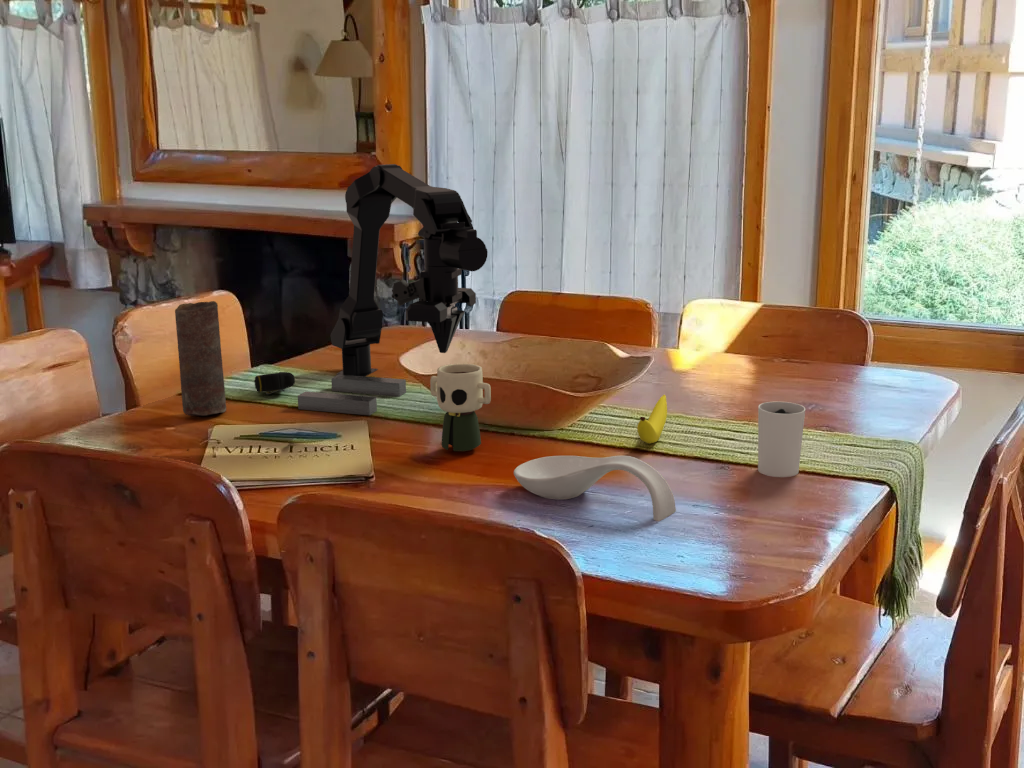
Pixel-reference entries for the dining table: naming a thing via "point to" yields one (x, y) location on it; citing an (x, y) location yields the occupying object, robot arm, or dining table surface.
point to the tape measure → (274, 382)
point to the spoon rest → (591, 478)
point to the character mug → (460, 403)
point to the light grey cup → (780, 438)
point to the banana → (653, 422)
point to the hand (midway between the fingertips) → (443, 352)
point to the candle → (200, 358)
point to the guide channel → (352, 402)
